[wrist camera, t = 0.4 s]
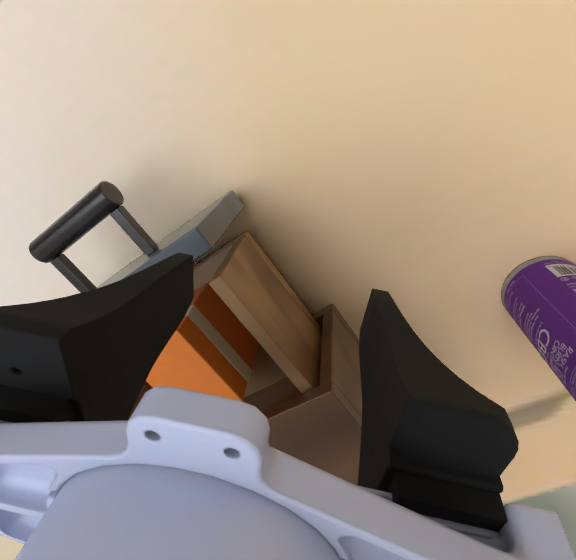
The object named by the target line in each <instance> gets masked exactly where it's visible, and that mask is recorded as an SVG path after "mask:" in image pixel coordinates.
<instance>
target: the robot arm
mask: <svg viewBox="0 0 576 560" xmlns="http://www.w3.org/2000/svg"><path fill="white" fill-rule="evenodd" d="M193 297H194V279H193V255H189V254H184V253H176V254H174V255H172V256H169V257H167V258H165V259H163V260H161V261H160V262H158V263H156V264H154V265H152V266H150V267H148V268H146V269H144V270H142V271H139V272H137V273H135V274H133V275H130V276H128V277H126V278H124V279H121V280H119V281H117V282H114V283H111V284H109V285H106V286H103V287H100V288H97V289H94V290H91V291H87V292H83V293H79V294H76V295H72V296H68V297H63V298H58V299H54V300H48V301H42V302H36V303H29V304H20V305H11V306H1V307H0V535H2V536H5V537H7V538H10V539H12V540H15V541H18V542H20V543H23V544H24V546H23V547H22V549H21V550H20V552H19V553H18V555H17V556H16V558H15V559H14V560H576V558H575V555H574V553H573V550H572V548H571V546H570V543H569V541H568V538H567V536H566V533H565V531H564V529H563V526H562V524H561V521H560V519H559V517H558V515H557V513H556V512H553V511H550V510H545V509H541V508H536V507H531V506H527V505H523V504H517V503H510V504H505V505H504V506H503V503H502V500H501V497H500V494H499V493H501V492H502V491H503V485H502V482H501V478H500V475H501V474H502V472H503V471H504V470H505V469H506V467H507V466H508V465H509V463H510V462H511V461H512V459H513V458H514V457H515V455H516V453H517V451H518V439H517V437H516V434H515V431H514V428H513V426H512V423H511V421H510V419H509V417H508V415H507V413H506V411H505V409H504V408H503V407H501V406H499V405H498V404H496V403H495V402H493V401H492V400H490V399H488V398H487V397H485V396H484V395H482V394H481V393H479V392H478V391H476V390H475V389H474V388H472V387H471V386H469V385H468V384H467V383H465V382H464V381H463V380H462V379H460V378H459V377H458V376H457V375H455V374H454V373H453V372H452V371H451V370H450V369H448V368H447V367H446V366H445V365H444V364H443V363H442V362H441V361H440V360H439V359H438V358H437V357H436V356H435V355H434V354H433V353H432V352H431V351H430V350H429V349H428V348H427V347H426V346H425V345H424V343H423V342H422V341H421V340H420V339H419V337H418V336H417V335H416V333H415V332H414V331H413V330H412V328H411V327H410V325H409V324H408V323H407V321H406V320H405V318H404V317H403V315H402V314H401V312H400V310H399V309H398V307H397V305H396V304H395V302H394V300H393V299H392V297H391V296H390V294H389V292H387V291H382V290H377V289H372V291H371V295H370V298H369V301H368V305H367V308H366V312H365V315H364V319H363V322H362V325H361V329H360V341H359V361H360V376H361V391H362V425H361V443H360V459H359V473H358V486H357V485H354V484H352V483H350V482H348V481H345V480H343V479H341V478H339V477H337V476H334V475H332V474H330V473H328V472H326V471H323V470H321V469H319V468H317V467H315V466H312V465H310V464H308V463H306V462H304V461H301V460H299V459H297V458H295V457H293V456H290V455H288V454H286V453H284V452H282V451H279V450H277V449H275V448H273V447H271V446H269V443H268V438H269V432H270V427H269V423H268V419H267V417H266V416H265V415H264V414H263V413H262V412H261V411H260V410H258V409H257V408H256V407H255V406H253V405H250V404H248V403H245V402H243V401H239V400H234V399H229V398H225V397H220V396H215V395H211V394H206V393H201V392H196V391H192V390H187V389H182V388H177V387H171V386H156V387H154V388H152V389H150V390H149V391H147V392H145V394H144V396H143V397H142V399H141V401H140V402H139V404H138V406H137V407H136V409H135V411H134V412H133V414H132V416H131V417H130V419H129V420H128V418H129V416H130V413H131V411H132V409H133V406H134V404H135V402H136V400H137V398H138V396H139V394H140V392H141V389H142V387H143V385H144V383H145V381H146V379H147V377H148V375H149V373H150V371H151V369H152V367H153V365H154V364H155V362H156V360H157V359H158V357H159V355H160V354H161V352H162V351H163V349H164V348H165V346H166V345H167V343H168V342H169V340H170V339H171V337H172V336H173V334H174V332H175V331H176V329H177V328H178V326H179V325H180V323H181V322H182V320H183V318H184V317H185V315H186V313H187V311H188V309H189V307H190V304H191V302H192V300H193Z"/></svg>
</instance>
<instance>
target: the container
mask: <svg viewBox="0 0 576 560" xmlns="http://www.w3.org/2000/svg"><path fill="white" fill-rule="evenodd" d="M501 298H502V302H503V305H504V307H505V308H506V310H507V311H508V313H509V314H510V315H511V317H512V318H513V319H514V320H515V322H516V323H517V324H518V326H519V327H520V328H521V330H522V331H523V332H524V334H525V335H526V336H527V338H528V339H529V340H530V342H531V343H532V344H533V346H534V347H535V348H536V349H537V351H538V352H539V353H540V355H541V356H542V357H543V359H544V360H545V361H546V363H547V364H548V365H549V367H550V368H551V369H552V371H553V372H554V373H555V374H556V376H557V377H558V378H559V380H560V381H561V382H562V384H563V385H564V386H565V388H566V389H567V390H568V392H569V393H570V394H571V396H572V397H573V398H574V399H575V401H576V265H574V264H573V263H571V262H570V261H568V260H566V259H564V258H561V257H556V256H544V257H538V258H534V259H531V260H529V261H527V262H525V263H523V264H521V265H520V266H518V267H517V268H516V269H514V270H513V271H512V272H511V273H510V275H509V276H508V277H507V279H506V280H505V282H504V284H503V287H502V292H501Z"/></svg>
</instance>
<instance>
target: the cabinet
mask: <svg viewBox="0 0 576 560" xmlns="http://www.w3.org/2000/svg"><path fill="white" fill-rule="evenodd" d="M312 316H313V318H314V319H315V320H316V322H317V323H318V324H319V326H320V327H321V328H322V347H321V367H320V386H318V387H316V388H314V389H312V390H309V391H307V392H305V393H303V394H300V395H298V396H296V397H294V398H292V399H289V400H287V401H285V402H283V403H280V404H278V405H276V406H274V407H272V408H269V409H267V410H265V411H263V412H262V413H263V414H264V415H265V416H266V417H267V419H268V423H269V427H270V432H269V438H268V443H269V446H271V447H273V448H275V449H277V450H279V451H282V452H284V453H286V454H288V455H290V456H293V457H295V458H297V459H299V460H301V461H304V462H306V463H308V464H310V465H312V466H315V467H317V468H319V469H321V470H323V471H326V472H328V473H330V474H332V475H334V476H337V477H339V478H341V479H343V480H345V481H348V482H350V483H352V484H354V485H357V486H358V473H359V459H360V443H361V425H362V391H361V376H360V361H359V339H358V338H357V337H356V335H355V334H354V333H353V331H352V330H351V328H350V327H349V326H348V324H347V323H346V322H345V320H344V319H343V317H342V316H341V315H340V313H339V312H338V311H337V309H336V308H335V306H334V305H333V304H331V305H329V306H328V307H326V308H324V309H322V310H320V311H318V312H316V313H314V314H312Z"/></svg>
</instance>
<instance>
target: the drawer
mask: <svg viewBox="0 0 576 560" xmlns="http://www.w3.org/2000/svg"><path fill="white" fill-rule="evenodd" d="M123 201H124V199H123V195H122V194H121V192H120V191H119V189H118V188H117V187H116V186H114V185H113V184H111V183H109V182H106V181H103V182H100V183H99V184H98V185H97V186H96V187H94V188H93V189H92V190H91V191H90V192H89V193H88V194H86V195H85V196H84V197H83V198H82V199H81V200H80V201H78V202H77V203H76V204H75V205H74V206H73V207H71V208H70V209H69V210H68V211H67V212H66V213H65V214H63V215H62V216H61V217H60V218H59V219H58V220H56V221H55V222H54V223H53V224H52V225H51V226H50V227H48V228H47V229H46V230H45V231H44V232H43V233H42V234H40V235H39V236H38V237H37V238H36V239H35V240H33V241H32V242H31V243H30V245H29V251H30V253H31V255H32V256H33V257H34V258H35V259H37V260H38V261H41V262H45V263H48V262H51V263H52V264H53V265H54V266H55V267H56V268H57V269H58V270H59V271H60V272H61V273H62V274H63V275H64V276H65V277H66V278H67V279H68V280H69V281H70V282H71V283H72V284H73V285H74V286H75V287H76V288H77V289H78V290H79V291H80V292H81V293H83V292H87V291H91V290H94V289H97V288H100V287H103V286H106V285H109V284H111V283H114V282H117V281H119V280H121V279H124V278H126V277H128V276H130V275H133V274H135V273H137V272H139V271H142V270H144V269H146V268H148V267H150V266H152V265H154V264H156V263H158V262H160V261H161V260H163V259H165V258H167V257H169V256H172V255H174V254H176V253H184V254H189V255H193V261H194V260H196V259H197V258H198V257H200V256H201V255H203V254H204V253H206V252H207V251H209V250H210V249H212V248H213V246H214V245H215V244H216V242H217V241H218V240H219V238H220V237H221V236H222V234H223V233H224V232H225V230H226V229H227V228H228V226H229V225H230V224H231V222H232V221H233V220H234V218H235V217H236V216H237V214H238V213H239V212H240V210H241V209H242V208H243V204H242V203H241V201H240V200H239V198H238V197H237V196H236V194H235V193H234V192H233V191H232V190H231V191H229V192H228V193H226V194H225V195H224V196H222V197H221V198H220V199H218V200H217V201H215V202H214V203H213V204H211V205H210V206H209V207H207V208H206V209H204V210H203V211H202V212H200V213H199V214H198V215H196V216H195V217H193V218H192V219H191V220H189V221H188V222H187V223H185V224H184V225H182V226H181V227H180V228H178V229H177V230H176V231H174V232H173V233H171V234H170V235H169V236H167V237H166V238H165V239H163V240H162V241H160V242H159V243H158V244H156V243H155V242H154V241H153V240H152V239H151V238H150V236H149V235H148V234H147V233H146V232H145V231H144V230H143V228H142V227H141V226H140V225H139V224H138V223H137V221H136V220H135V219H134V218H133V217H132V216H131V215H130V213H129V212H128V211H127V210H126V209H125V208H124V207H123V206H121V205H122V204H123ZM108 215H111V216H112V217H113V218H114V220H115V221H116V222H117V223H118V224H119V225H120V226H121V227H122V229H123V230H124V231H125V232H126V233H127V234H128V235H129V236H130V238H131V239H132V240H133V241H134V242H135V243H136V244H137V245H138V247H139V248H140V249H141V250H142V251H143V252H144V254H143V255H141V256H140V257H138V258H137V259H136V260H134V261H133V262H131V263H130V264H129V265H127V266H126V267H125V268H123V269H122V270H120V271H119V272H118V273H116V274H115V275H114V276H112V277H111V278H109V279H108V280H107V281H105V282H104V283H103V284H101V285H100V286H98V287H97V288H96V287H95V286H94V284H93V283H92V282H91V281H90V280H89V279H88V278H87V277H86V276H85V275H84V274H83V273H82V272H81V271H80V270H79V269H78V268H77V267H76V266H75V265H74V264H73V263H72V262H71V261H70V260H69V259H68V258H67V257H66V256H65V255H64V254H62V253H63V252H64V251H65V250H67V249H68V248H69V247H70V246H72V245H73V244H74V243H75V242H77V241H78V240H79V239H80V238H81V237H83V236H84V235H85V234H86V233H88V232H89V231H90V230H91V229H92V228H94V227H95V226H96V225H97V224H99V223H100V222H101V221H102V220H104V219H105V218H106V217H107V216H108ZM193 279H194V291H195V290H197V289H198V288H200V287H201V286H203V285H204V284H206V283H209V285H210V286H211V287H212V288H213V290H214V291H215V292H216V293H217V294H218V295H219V297H220V298H221V299H222V300H223V301H224V302H225V304H226V305H227V306H228V307H229V308H230V310H231V311H232V312H233V313H234V314H235V315H236V317H237V318H238V319H239V320H240V321H241V323H242V324H243V325H244V326H245V327H246V328H247V330H248V331H249V332H250V333H251V334H252V335H253V337H254V338H255V339H256V340H257V341H258V343H259V346H258V350H257V353H256V357H255V360H254V363H253V367H252V372H251V376H250V379H249V382H248V384H247V387H246V391H245V394H244V398H243V402H245V403H248V404H250V405H253V406H255V407H256V408H257V409H258V410H260V411H261V412H263V411H265V410H267V409H269V408H272V407H274V406H276V405H278V404H280V403H283V402H285V401H287V400H289V399H292V398H294V397H296V396H298V395H300V394H303V393H305V392H307V391H309V390H312V389H314V388H316V387H318V386H320V367H321V347H322V328H321V327H320V326H319V324H318V323H317V322H316V320H315V319H314V318H313V316H312V315H311V314H310V312H309V311H308V310H307V309H306V307H305V306H304V305H303V303H302V302H301V301H300V299H299V298H298V297H297V295H296V294H295V293H294V291H293V290H292V289H291V287H290V286H289V285H288V284H287V282H286V281H285V280H284V278H283V277H282V276H281V274H280V273H279V272H278V270H277V269H276V268H275V266H274V265H273V264H272V263H271V261H270V260H269V259H268V257H267V256H266V255H265V253H264V252H263V251H262V249H261V248H260V247H259V245H258V244H257V243H256V242H255V240H254V239H253V238H252V236H251V235H250V234H249V232H248V231H246V232H245V233H243V234H242V235H240V236H239V237H237V238H236V239H234V240H233V241H231V242H230V243H228V244H227V245H225V246H224V247H222V248H221V249H219V250H218V251H216V252H215V253H213V254H212V255H210V256H209V257H207V258H206V259H204V260H203V261H201V262H200V263H198V264H197V265H195V266H194V267H193ZM152 388H153V387H152V386H151V385H150V384H149V383H148V382H147V381H145V383H144V385H143V387H142V389H141V392H140V394H139V396H138V398H137V400H136V402H135V404H134V406H133V409H132V411H131V413H130V416H129V418H128V420H129V419H130V417H131V416H132V414H133V412H134V411H135V409H136V407H137V406H138V404H139V402H140V401H141V399H142V397H143V396H144V394H145V392H147V391H149V390H150V389H152Z"/></svg>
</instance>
